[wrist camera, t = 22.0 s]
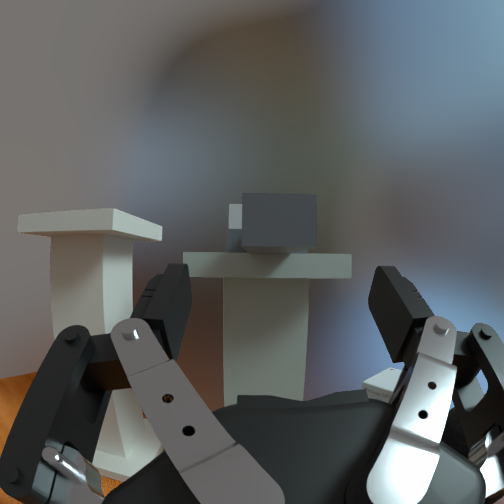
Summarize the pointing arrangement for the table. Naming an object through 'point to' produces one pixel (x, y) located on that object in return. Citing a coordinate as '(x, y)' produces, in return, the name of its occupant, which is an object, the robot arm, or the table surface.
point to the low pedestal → (265, 316)
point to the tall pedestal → (100, 312)
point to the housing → (272, 224)
